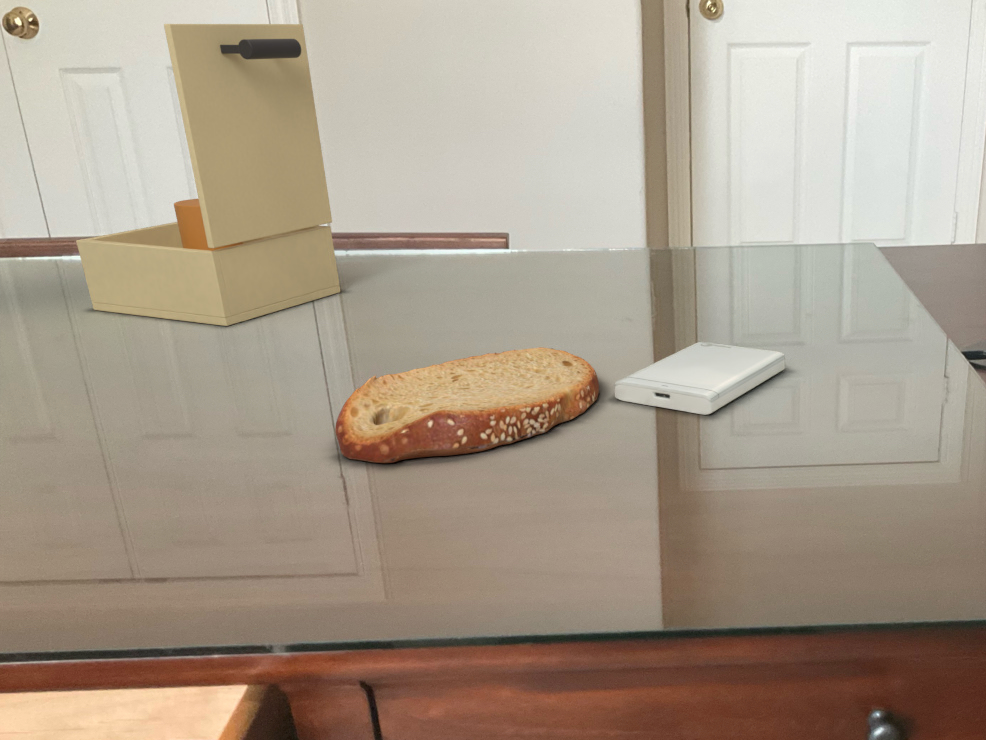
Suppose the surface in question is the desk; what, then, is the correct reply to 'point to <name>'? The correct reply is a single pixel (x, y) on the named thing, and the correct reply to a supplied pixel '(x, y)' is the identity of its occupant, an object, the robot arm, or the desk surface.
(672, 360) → the hard drive
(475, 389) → the slice of bread
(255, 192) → the lid
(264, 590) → the desk surface
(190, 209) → the orange cylinder
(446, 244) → the desk surface
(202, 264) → the breadbox
